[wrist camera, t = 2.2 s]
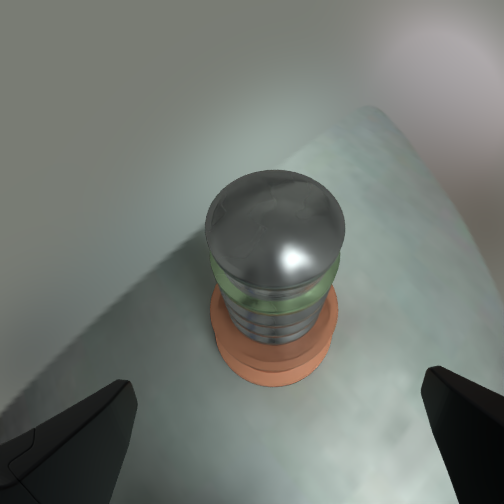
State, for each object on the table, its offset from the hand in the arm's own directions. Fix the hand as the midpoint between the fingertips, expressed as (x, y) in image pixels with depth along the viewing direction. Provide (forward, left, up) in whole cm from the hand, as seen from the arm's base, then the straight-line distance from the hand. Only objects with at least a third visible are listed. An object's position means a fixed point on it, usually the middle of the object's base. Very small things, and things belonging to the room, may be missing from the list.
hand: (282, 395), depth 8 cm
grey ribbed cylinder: (+2, -5, -7) cm, 8 cm away
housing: (+2, -5, -12) cm, 13 cm away
